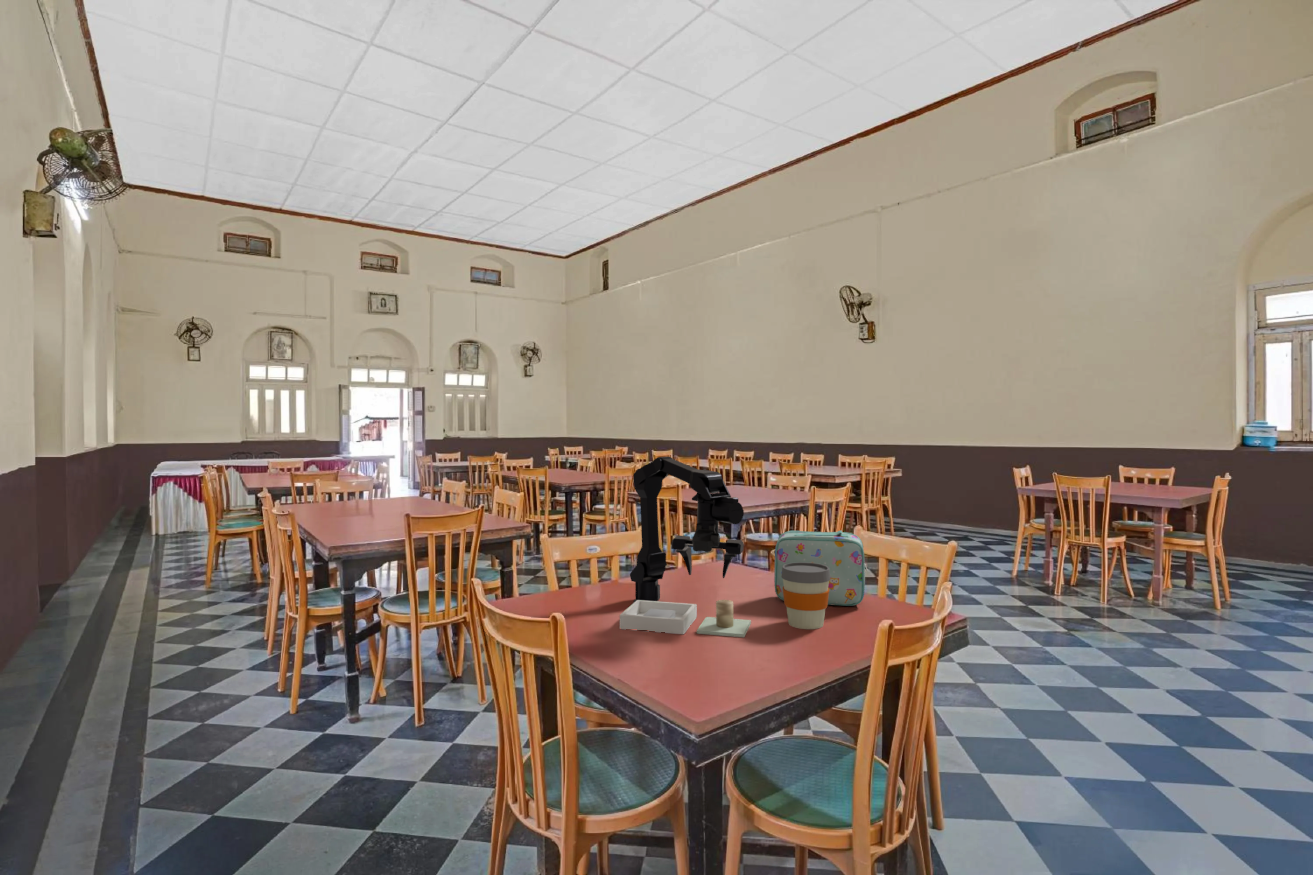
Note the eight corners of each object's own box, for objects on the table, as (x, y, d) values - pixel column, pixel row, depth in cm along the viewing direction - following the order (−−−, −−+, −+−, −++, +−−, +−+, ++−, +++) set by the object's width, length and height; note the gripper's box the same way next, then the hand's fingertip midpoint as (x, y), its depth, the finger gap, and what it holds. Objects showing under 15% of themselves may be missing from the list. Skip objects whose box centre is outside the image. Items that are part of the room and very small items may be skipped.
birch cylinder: (714, 626, 170) (714, 603, 169) (718, 621, 174) (718, 599, 174) (731, 628, 168) (731, 604, 168) (734, 623, 172) (734, 600, 172)
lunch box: (867, 600, 197) (867, 528, 196) (869, 609, 187) (869, 534, 186) (776, 594, 204) (776, 525, 203) (773, 603, 194) (773, 530, 194)
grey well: (619, 628, 171) (619, 615, 171) (637, 612, 185) (637, 599, 185) (683, 634, 166) (683, 620, 166) (696, 617, 181) (696, 604, 181)
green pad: (696, 633, 167) (696, 630, 167) (706, 619, 178) (706, 616, 178) (744, 637, 164) (744, 634, 164) (750, 622, 175) (750, 619, 175)
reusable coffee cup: (831, 632, 167) (831, 573, 166) (781, 629, 169) (780, 571, 169) (829, 618, 179) (829, 562, 179) (781, 615, 182) (781, 561, 181)
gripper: (666, 521, 172) (665, 580, 173) (737, 526, 167) (736, 587, 168) (677, 514, 183) (676, 570, 184) (744, 519, 178) (743, 576, 179)
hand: (706, 576), depth 178 cm, fingers open, 9 cm apart
